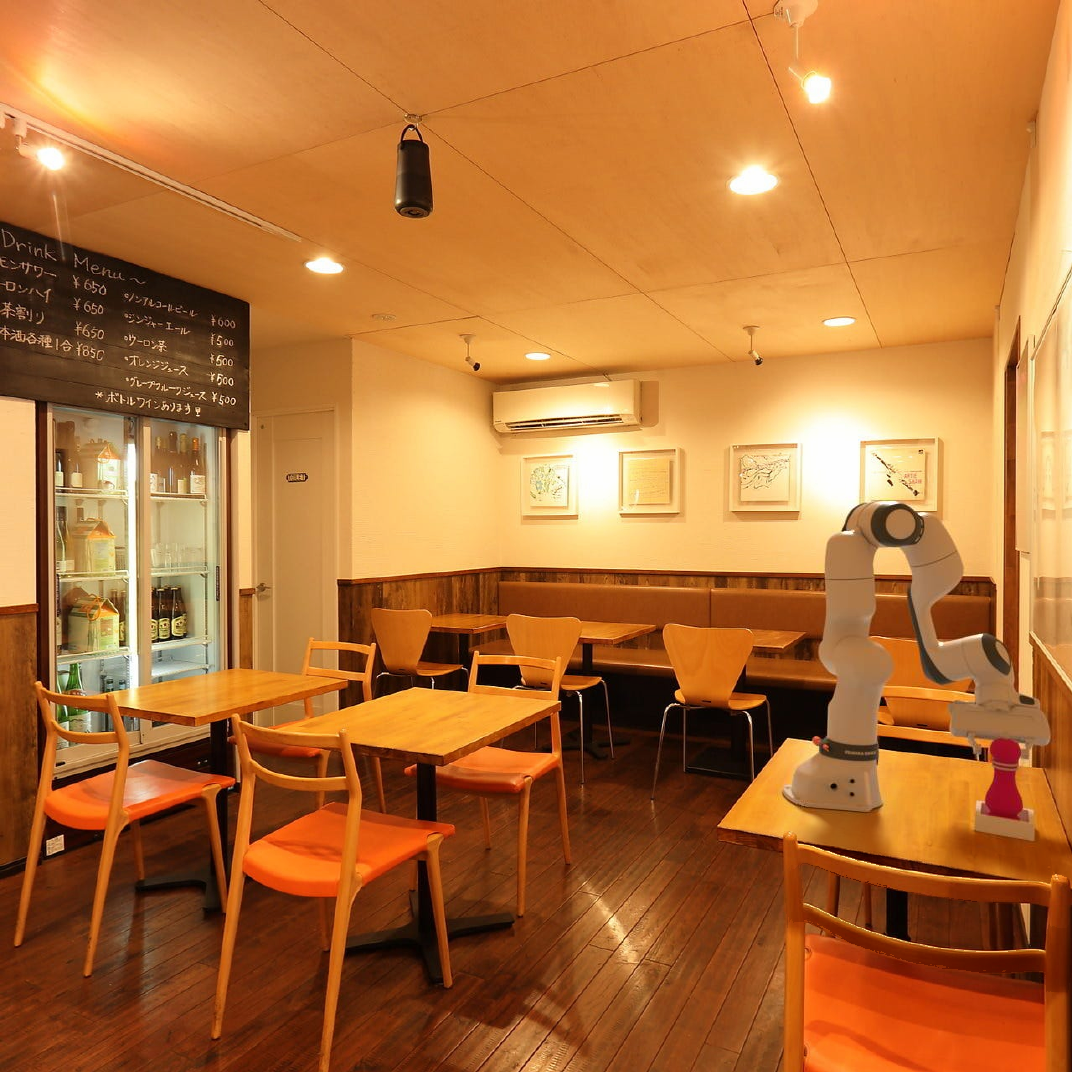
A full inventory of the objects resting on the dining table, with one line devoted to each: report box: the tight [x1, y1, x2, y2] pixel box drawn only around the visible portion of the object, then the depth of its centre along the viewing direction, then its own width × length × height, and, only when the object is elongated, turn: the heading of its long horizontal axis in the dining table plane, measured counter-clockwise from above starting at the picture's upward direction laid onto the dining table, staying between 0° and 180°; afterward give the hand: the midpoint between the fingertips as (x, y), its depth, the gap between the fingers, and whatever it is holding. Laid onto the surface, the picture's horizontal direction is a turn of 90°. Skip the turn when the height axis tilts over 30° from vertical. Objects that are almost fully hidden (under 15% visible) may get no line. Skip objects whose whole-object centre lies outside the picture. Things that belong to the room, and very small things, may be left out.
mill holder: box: [974, 800, 1036, 842], centre depth 177 cm, size 11×11×4 cm
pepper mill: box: [984, 732, 1024, 821], centre depth 178 cm, size 7×7×20 cm
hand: (1001, 755), depth 185 cm, fingers open, 8 cm apart
